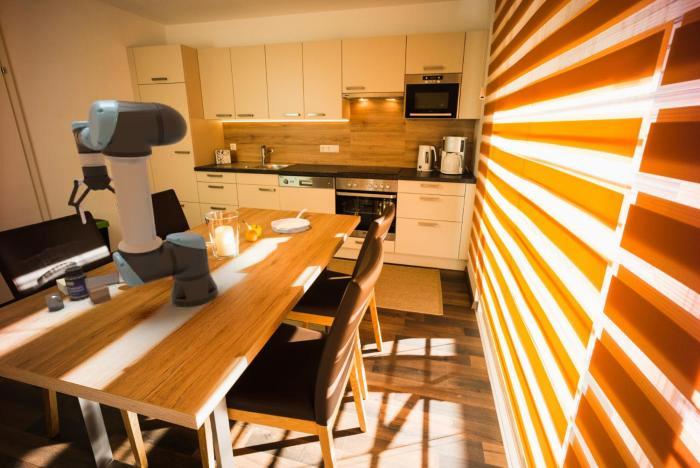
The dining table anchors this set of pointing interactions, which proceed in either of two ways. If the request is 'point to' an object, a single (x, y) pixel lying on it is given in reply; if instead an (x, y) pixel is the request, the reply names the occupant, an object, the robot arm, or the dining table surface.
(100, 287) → the walnut cube
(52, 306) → the grey rounded block
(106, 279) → the mat
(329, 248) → the dining table surface
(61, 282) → the sage block
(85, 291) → the pill bottle
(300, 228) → the pan
